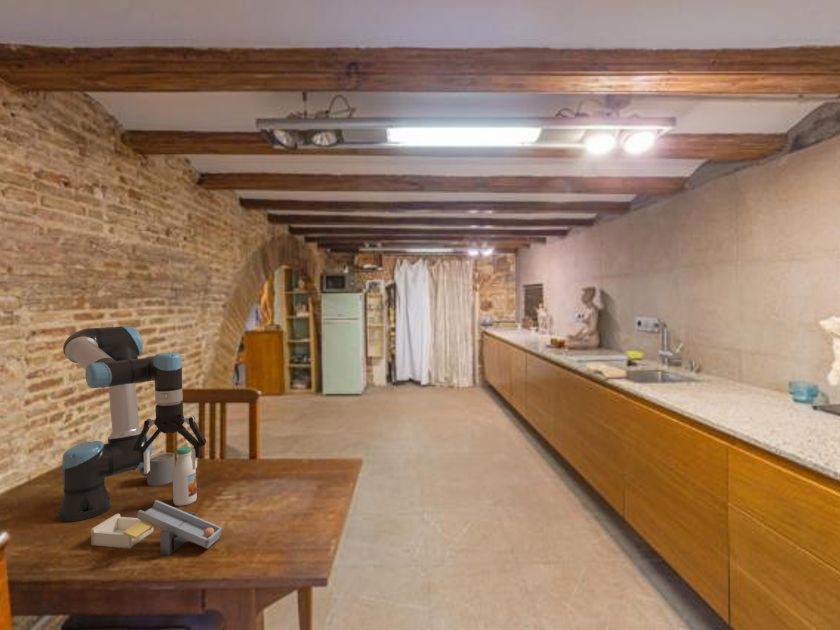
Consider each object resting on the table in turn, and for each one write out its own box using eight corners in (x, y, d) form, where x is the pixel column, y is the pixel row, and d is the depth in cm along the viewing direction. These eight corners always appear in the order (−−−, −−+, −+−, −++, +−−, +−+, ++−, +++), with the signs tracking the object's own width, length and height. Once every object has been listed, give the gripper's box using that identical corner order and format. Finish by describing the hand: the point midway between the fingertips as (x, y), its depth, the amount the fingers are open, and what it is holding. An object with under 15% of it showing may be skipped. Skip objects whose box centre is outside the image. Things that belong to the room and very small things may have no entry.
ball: (200, 539, 137) (202, 529, 137) (206, 533, 140) (208, 524, 140) (209, 541, 137) (211, 531, 137) (215, 536, 140) (217, 526, 140)
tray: (91, 545, 139) (90, 529, 139) (117, 528, 149) (117, 513, 149) (129, 548, 137) (128, 532, 137) (153, 531, 147) (153, 516, 147)
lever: (117, 532, 131) (119, 522, 131) (156, 506, 147) (159, 498, 146) (190, 564, 128) (193, 554, 128) (222, 534, 143) (225, 525, 143)
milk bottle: (181, 508, 163) (179, 453, 162) (169, 503, 167) (167, 449, 166) (201, 499, 170) (199, 446, 169) (189, 495, 174) (187, 443, 173)
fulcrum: (160, 554, 134) (159, 532, 134) (188, 531, 147) (188, 511, 147) (169, 555, 134) (169, 533, 133) (197, 532, 146) (196, 512, 146)
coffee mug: (180, 476, 192) (179, 453, 191) (163, 486, 182) (162, 461, 181) (152, 474, 194) (151, 451, 194) (134, 484, 184) (133, 459, 184)
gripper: (119, 408, 135) (121, 478, 136) (209, 403, 141) (211, 470, 142) (129, 402, 143) (131, 469, 144) (214, 397, 149) (216, 462, 149)
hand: (171, 470), depth 143 cm, fingers open, 13 cm apart
